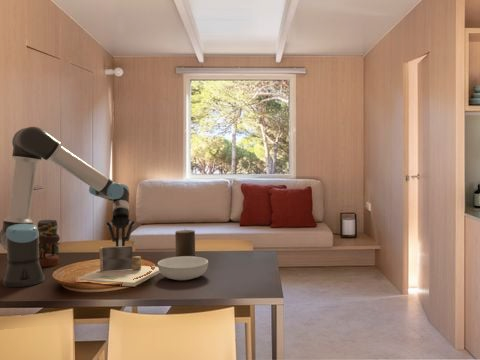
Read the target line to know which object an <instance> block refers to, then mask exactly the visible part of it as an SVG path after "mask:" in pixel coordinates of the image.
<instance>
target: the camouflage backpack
mask: <svg viewBox="0 0 480 360" xmlns="http://www.w3.org/2000/svg"><path fill="white" fill-rule="evenodd" d="M49 223H50V224H52V227H51V230H50V229H48V230H47V231H43V234H47V232H49V233H50V232H52V234H58V233H57V231H58V221H57V220H56V219H43V220H38V222H37V229H39V228H40V227H42V226H44V225H47V224H49ZM40 235H42V231H40V232H39V231H38V237H39V236H40ZM38 243H39V244H41V243H40V242H39V241H38ZM57 243H59V241H58V242H57ZM57 243H55V244H57ZM49 245H50V244H49ZM57 246H58V249H57V248H56V249H54V254H55V255H58V254H59V244H57ZM54 247H55V246H54ZM42 248H43V246H39V251H40V252H41V249H42ZM51 248H52V245H51ZM46 249H47V244H46ZM46 252H47V253H46V254H52V249H51V252H48V251H47V250H46Z"/></svg>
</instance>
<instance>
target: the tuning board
mask: <svg viewBox="0 0 480 360" xmlns="http://www.w3.org/2000/svg"><path fill="white" fill-rule="evenodd" d="M154 267H155V269H154V270H152V269H151V267H150V266H149V265H141V269H138V270H133V269H130V270H114V271H103V272H100V268H99V269H96V270H93V271H90V272H89V273H86V274H84V275H81V276H79V277H76V278H75V280H76V279H80V280H87V281H95V282H123V284H122V287H136V286H138V285H140V284H142V283H144V282H146V281H148V280H149V279H152V278H153V277H156V276H157V275H158V274H161V273H160V271H159V268H158V266H154ZM149 271H152V272H151V273H150V274H148V275H146V276H143V277H141V278H138V279H134V278H136V277H139V276H142V275H144V274H146V273H147V272H149ZM133 279H134V280H133Z"/></svg>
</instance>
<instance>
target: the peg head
mask: <svg viewBox="0 0 480 360" xmlns="http://www.w3.org/2000/svg"><path fill="white" fill-rule="evenodd" d="M98 250H99V269H100V272H103V271H114V270H130V269H133V270H138V269H141V266H142V257H141V256H137V255H136V256H133V255H134V254H133V251H134V250H133V245H125V246H117V247H116V246H100V247H98Z"/></svg>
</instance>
